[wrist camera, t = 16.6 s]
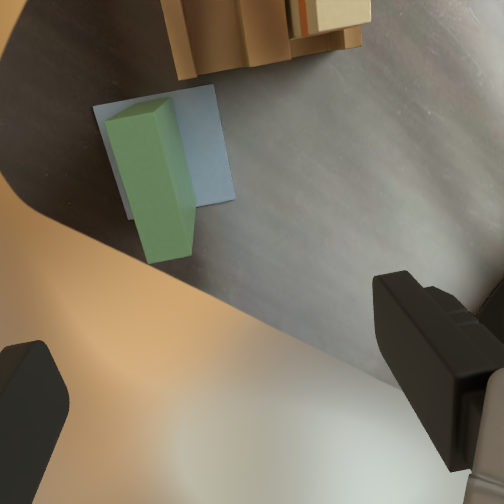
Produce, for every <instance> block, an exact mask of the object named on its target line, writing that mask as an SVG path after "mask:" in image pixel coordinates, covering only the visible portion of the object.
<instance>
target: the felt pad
mask: <svg viewBox="0 0 504 504" xmlns="http://www.w3.org/2000/svg"><path fill="white" fill-rule="evenodd" d="M169 96H171V97H172V101H173V105H174V109H175V113H176V118H177V122H178V126H179V130H180V134H181V138H182V143H183V147H184V151H185V155H186V159H187V163H188V168H189V172H190V176H191V180H192V184H193V188H194V193H195V197H196V201H197V202H196V207H199V206H204V205H209V204H214V203H220V202H225V201H230V200H235V199H236V198H235V193H234V187H233V182H232V177H231V172H230V167H229V162H228V157H227V152H226V146H225V141H224V136H223V131H222V126H221V121H220V116H219V111H218V105H217V100H216V95H215V90H214V85H213V84H208V85H203V86H197V87H192V88H187V89H181V90H176V91H171V92H165V93H160V94H155V95H150V96H144V97H139V98H134V99H128V100H123V101H118V102H113V103H107V104H102V105H97V106H93V110H94V113H95V117H96V120H97V123H98V126H99V129H100V132H101V135H102V139H103V142H104V145H105V148H106V151H107V154H108V158H109V161H110V164H111V167H112V170H113V173H114V177H115V180H116V183H117V186H118V189H119V192H120V195H121V199H122V202H123V205H124V208H125V211H126V214H127V218H128V220H131V219H134V218H133V215H132V211H131V208H130V205H129V202H128V199H127V195H126V192H125V189H124V186H123V183H122V179H121V176H120V173H119V170H118V167H117V163H116V160H115V157H114V154H113V151H112V147H111V144H110V141H109V138H108V135H107V131H106V128H105V125H104V121H106V120H107V119H109V118H111V117H113V116H114V115H116V114H118V113H120V112H121V111H123V110H125V109H127V108H128V107H130V106H132V105H134V104H135V103H138V102H143V101H149V100H154V99H159V98H164V97H169Z"/></svg>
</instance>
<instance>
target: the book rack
mask: <svg viewBox="0 0 504 504" xmlns="http://www.w3.org/2000/svg"><path fill="white" fill-rule="evenodd" d="M160 2H161V6H162V11H163V15H164V19H165V24H166V28H167V33H168V37H169V41H170V46H171V50H172V55H173V59H174V63H175V68H176V72H177V77H178V80H179V81H181V80H186V79H191V78H196V77H197V76H198V75H202V74H208V73H213V72H218V71H224V70H229V69H234V68H239V67H245V66H246V67H255V66H260V65H266V64H271V63H276V62H281V61H287V60H291V58H293V57H298V56H303V55H308V54H314V53H319V52H324V51H333V50H345V49H350V48H356V47H361V46H362V31H361V25H358V26H357V27H353V28H349V29H344V30H339V31H333V32H329V33H325V34H320V35H315V36H310V37H305V38H300V39H294V40H289V35H288V27H287V18H286V10H285V1H284V0H160Z"/></svg>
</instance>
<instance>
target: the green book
mask: <svg viewBox="0 0 504 504" xmlns="http://www.w3.org/2000/svg"><path fill="white" fill-rule="evenodd" d="M104 125H105V128H106V131H107V135H108V138H109V141H110V144H111V147H112V151H113V154H114V157H115V160H116V163H117V167H118V170H119V173H120V176H121V179H122V183H123V186H124V189H125V192H126V195H127V199H128V202H129V205H130V208H131V211H132V215H133V218H134V221H135V224H136V227H137V231H138V234H139V237H140V240H141V243H142V247H143V250H144V253H145V256H146V259H147V263H148V264H150V263H155V262H161V261H166V260H171V259H176V258H181V257H186V256H191V254H192V243H193V233H194V223H195V213H196V202H197V201H196V197H195V193H194V188H193V184H192V180H191V176H190V172H189V168H188V163H187V159H186V155H185V151H184V147H183V143H182V138H181V134H180V130H179V126H178V122H177V118H176V113H175V109H174V105H173V101H172V97H171V96H169V97H164V98H159V99H154V100H149V101H143V102H138V103H135V104H134V105H132V106H130V107H128V108H127V109H125V110H123V111H121V112H120V113H118V114H116V115H114V116H113V117H111V118H109V119H107V120H106V121H104Z"/></svg>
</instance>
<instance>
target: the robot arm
mask: <svg viewBox="0 0 504 504" xmlns="http://www.w3.org/2000/svg"><path fill="white" fill-rule="evenodd" d="M372 287H373V306H374V324H375V334H376V339H377V343H378V346H379V349H380V352H381V354H382V356H383V358H384V359H385V361H386V363H387V364H388V366H389V368H390V370H391V371H392V373H393V375H394V376H395V378H396V380H397V382H398V383H399V385H400V387H401V389H402V390H403V392H404V394H405V395H406V397H407V399H408V401H409V402H410V404H411V406H412V408H413V409H414V411H415V413H416V414H417V416H418V418H419V419H420V421H421V423H422V425H423V427H424V428H425V430H426V432H427V433H428V435H429V437H430V439H431V440H432V442H433V444H434V446H435V447H436V449H437V451H438V452H439V454H440V456H441V458H442V459H443V461H444V462H445V465H446V466H447V468H448V470H449V471H450V472H456V471H461V470H466V469H471V471H472V473H471V474H469V477H468V481H467V486H466V491H465V497H464V502H463V504H504V344H502V343H501V342H500V341H499V340H498V339H497V338H496V337H495V336H494V335H493V334H492V333H491V332H490V331H489V330H488V329H487V328H486V327H485V326H484V325H483V324H482V323H479V320H478V319H477V318H476V317H475V316H474V315H473V314H472V313H471V312H468V311H467V309H466V308H465V307H464V306H463V305H462V304H461V303H460V302H459V301H458V300H457V299H456V298H455V297H454V296H453V295H451V294H449V293H446V292H444V291H442V290H440V289H438V288H436V287H434V286H431V287H426V288H423V287H422V286H421V285H420V284H419V283H418V282H417V281H416V280H415V279H414V277H413V276H412V275H411V274H410V273H409V272H408V271H406V270H404V271H399V272H393V273H388V274H383V275H378V276H374V278H373V283H372ZM68 412H69V394H68V390H67V387H66V385H65V383H64V381H63V379H62V377H61V374H60V372H59V371H58V368H57V366H56V364H55V362H54V359H53V357H52V355H51V353H50V351H49V349H48V347H47V345H46V344H45V343H44V342H43V341H41V340H36V341H31V342H27V343H21V344H16V345H11V346H7V347H5V348H4V349H3V350H2V351H1V353H0V504H32V502H33V499H34V497H35V494H36V492H37V489H38V487H39V484H40V482H41V480H42V477H43V475H44V472H45V470H46V467H47V465H48V462H49V460H50V457H51V455H52V453H53V450H54V448H55V445H56V443H57V440H58V438H59V435H60V433H61V430H62V428H63V425H64V423H65V420H66V418H67V415H68Z"/></svg>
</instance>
